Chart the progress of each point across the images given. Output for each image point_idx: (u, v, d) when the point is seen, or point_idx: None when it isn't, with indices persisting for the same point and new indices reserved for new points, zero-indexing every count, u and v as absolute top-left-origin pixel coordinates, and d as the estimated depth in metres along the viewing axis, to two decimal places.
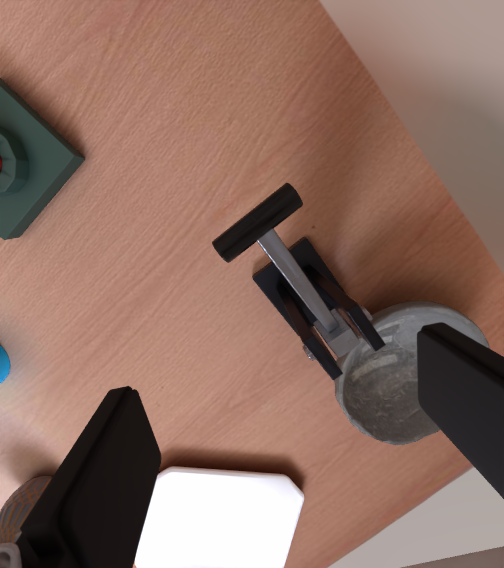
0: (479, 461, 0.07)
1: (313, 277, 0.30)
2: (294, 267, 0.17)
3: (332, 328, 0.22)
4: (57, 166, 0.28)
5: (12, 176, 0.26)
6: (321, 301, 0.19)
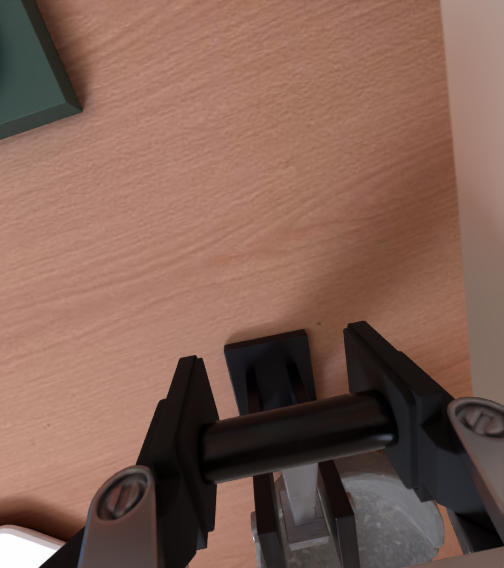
0: None
1: (297, 394, 0.23)
2: (310, 487, 0.10)
3: (304, 523, 0.15)
4: (33, 102, 0.19)
5: None
6: (313, 508, 0.12)
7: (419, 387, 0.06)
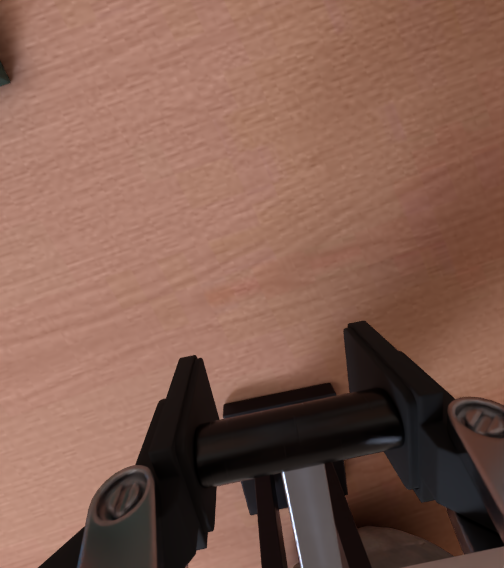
0: None
1: None
2: None
3: None
4: None
5: None
6: None
7: (419, 387, 0.06)
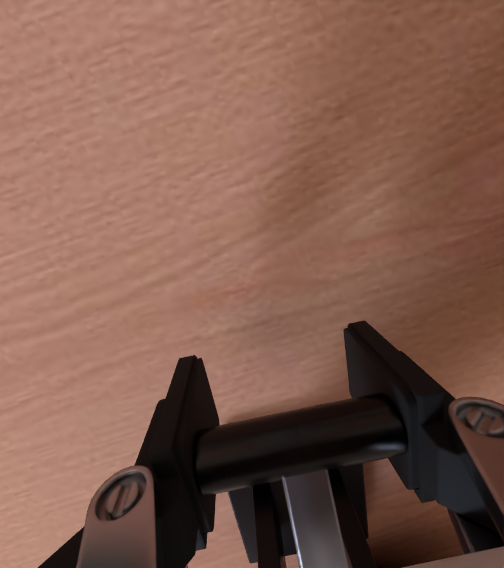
0: None
1: (354, 563, 0.12)
2: None
3: None
4: None
5: None
6: None
7: (420, 387, 0.06)
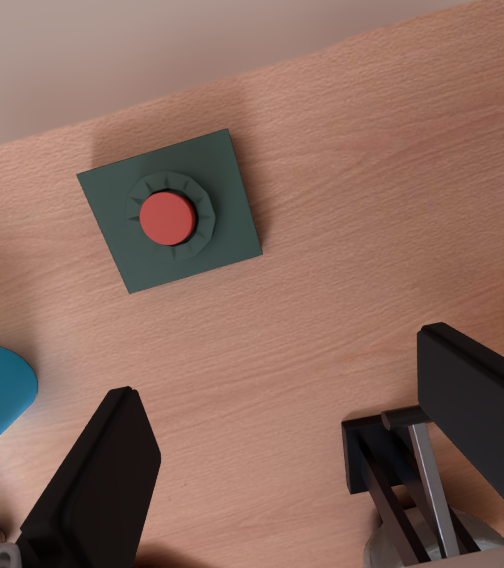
0: (479, 461, 0.07)
1: (418, 475, 0.28)
2: (433, 465, 0.22)
3: None
4: (238, 255, 0.24)
5: (194, 253, 0.22)
6: (450, 521, 0.22)
7: None
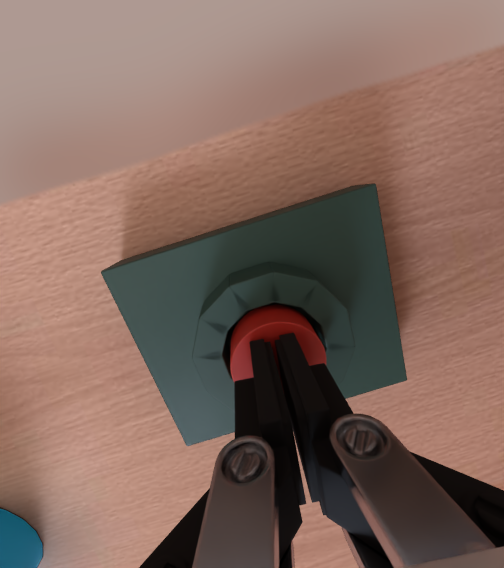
0: (299, 454, 0.08)
1: None
2: None
3: None
4: (367, 383, 0.14)
5: None
6: None
7: (311, 404, 0.06)
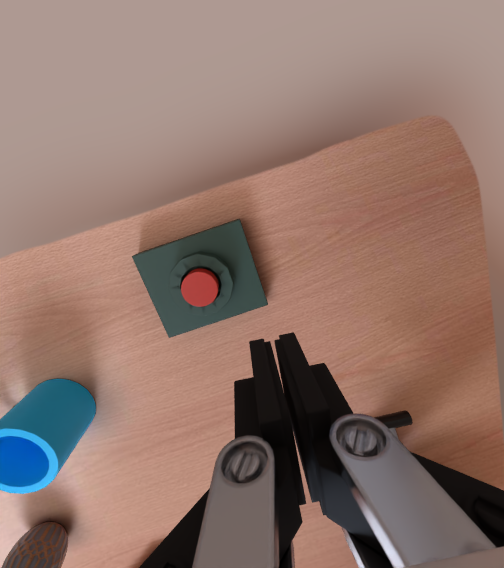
0: (299, 454, 0.08)
1: None
2: None
3: None
4: (249, 306, 0.32)
5: (218, 309, 0.30)
6: None
7: (311, 404, 0.06)
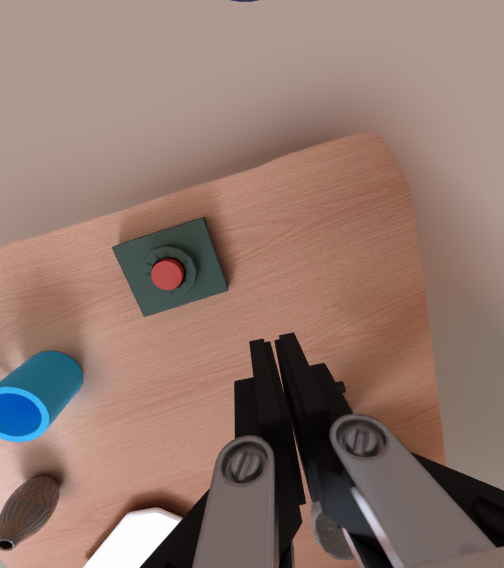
0: (299, 454, 0.08)
1: None
2: None
3: None
4: (212, 291, 0.37)
5: (184, 292, 0.35)
6: None
7: (311, 404, 0.06)
